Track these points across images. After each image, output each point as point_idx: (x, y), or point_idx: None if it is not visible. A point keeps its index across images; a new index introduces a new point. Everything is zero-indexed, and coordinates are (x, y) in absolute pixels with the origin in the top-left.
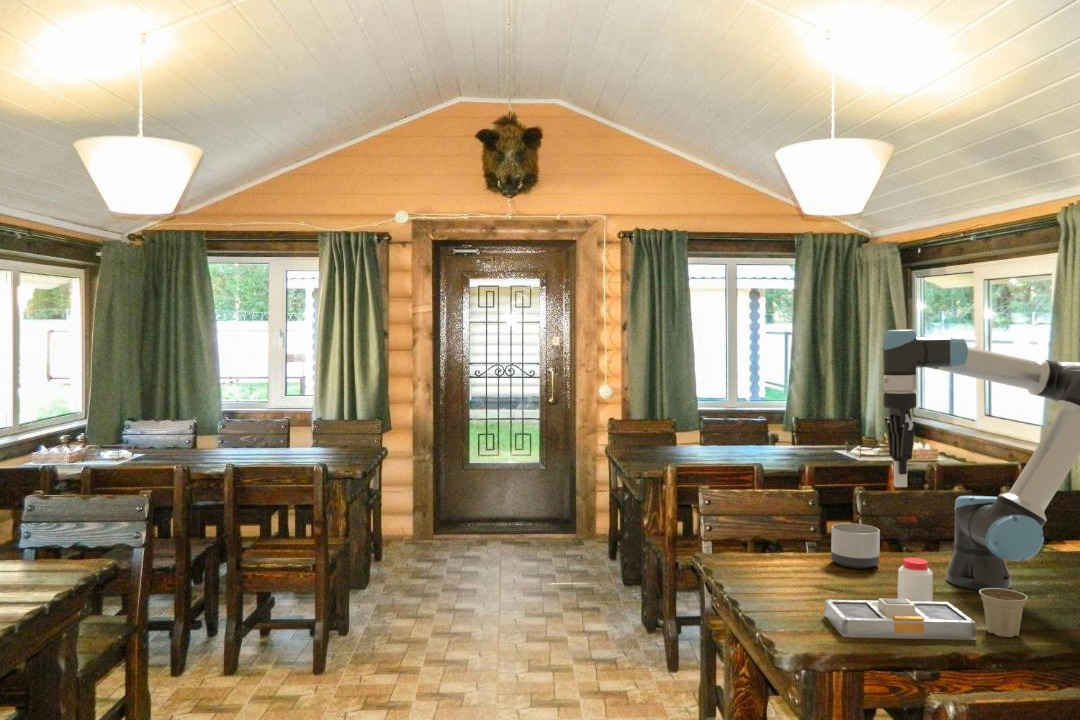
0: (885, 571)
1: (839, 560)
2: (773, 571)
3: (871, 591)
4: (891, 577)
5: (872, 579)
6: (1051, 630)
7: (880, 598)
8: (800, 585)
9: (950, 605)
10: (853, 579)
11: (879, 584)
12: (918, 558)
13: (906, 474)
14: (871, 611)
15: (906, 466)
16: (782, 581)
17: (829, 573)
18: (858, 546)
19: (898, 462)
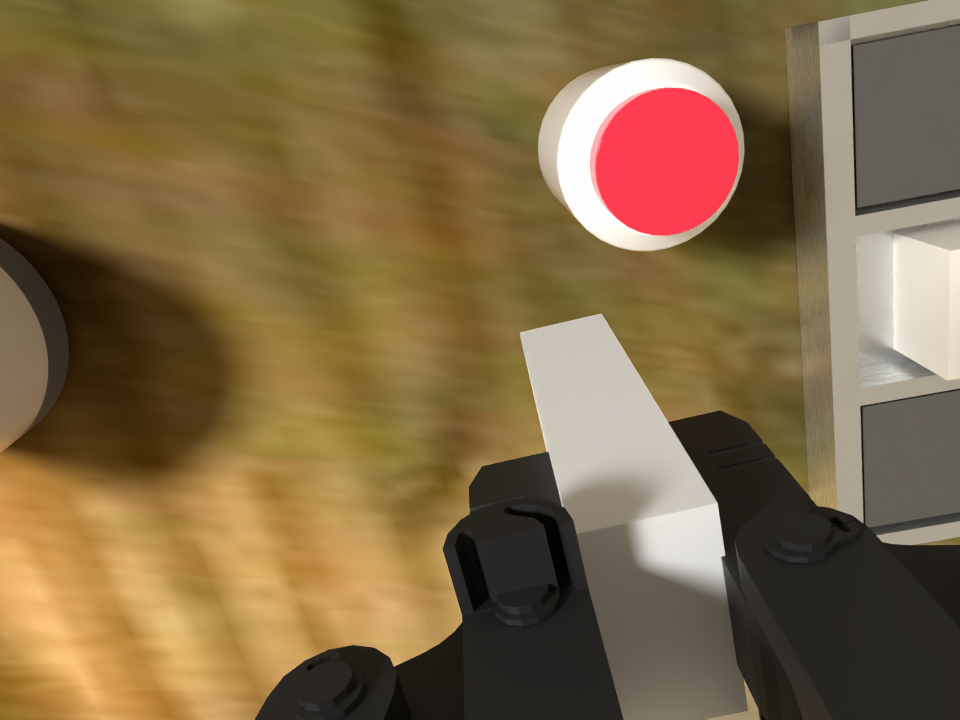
0: (29, 188)
1: (37, 422)
2: (236, 671)
3: (431, 309)
4: (142, 175)
5: (217, 277)
6: None
7: (950, 372)
8: (420, 582)
9: (876, 22)
10: (249, 365)
11: (299, 256)
12: (608, 134)
13: (641, 389)
14: (957, 395)
15: (787, 475)
16: (381, 643)
17: (181, 459)
18: (10, 368)
19: (730, 648)
